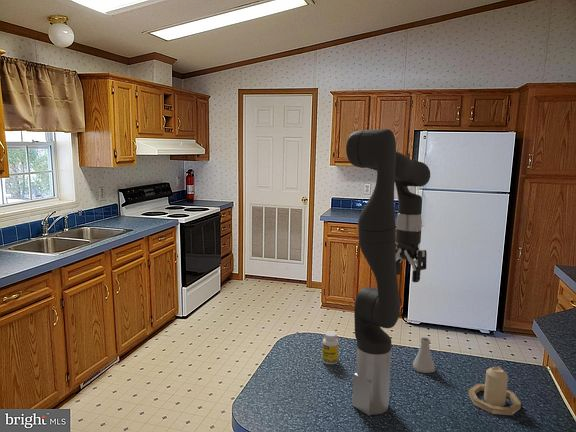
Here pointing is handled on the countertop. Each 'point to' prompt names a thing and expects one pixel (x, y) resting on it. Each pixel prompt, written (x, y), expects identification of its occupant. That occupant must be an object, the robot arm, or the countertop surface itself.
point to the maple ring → (494, 409)
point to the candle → (495, 386)
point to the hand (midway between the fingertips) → (406, 278)
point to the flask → (424, 358)
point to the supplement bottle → (330, 348)
